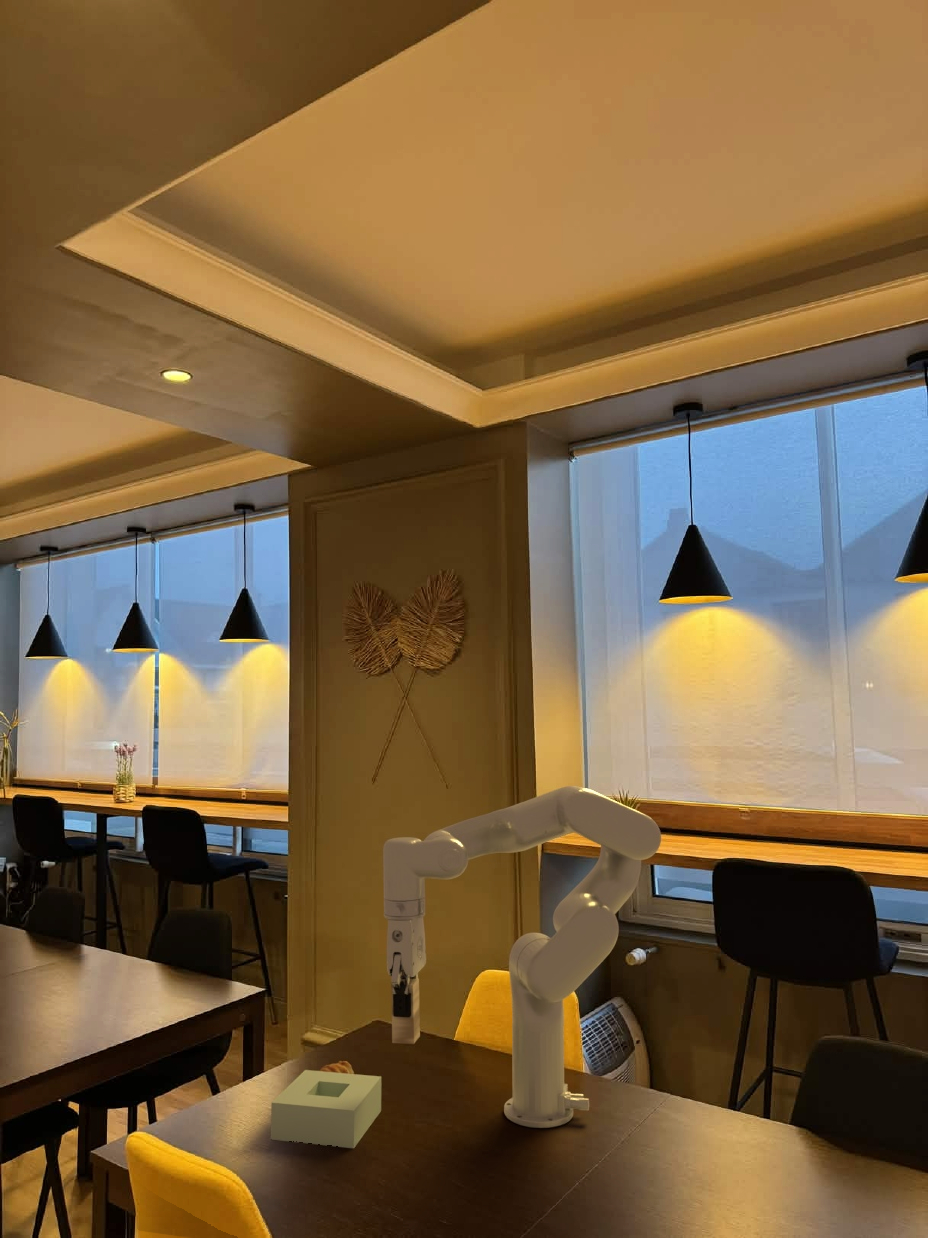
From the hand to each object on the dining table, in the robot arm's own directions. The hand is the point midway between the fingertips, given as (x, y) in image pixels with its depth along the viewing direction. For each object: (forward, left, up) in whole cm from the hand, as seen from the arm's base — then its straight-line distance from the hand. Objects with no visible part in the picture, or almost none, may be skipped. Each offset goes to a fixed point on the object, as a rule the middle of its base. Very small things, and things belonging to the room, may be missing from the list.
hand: (406, 1011), depth 161 cm
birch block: (0, 0, -5) cm, 5 cm away
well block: (+13, +3, -19) cm, 24 cm away
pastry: (+19, -14, -20) cm, 31 cm away
